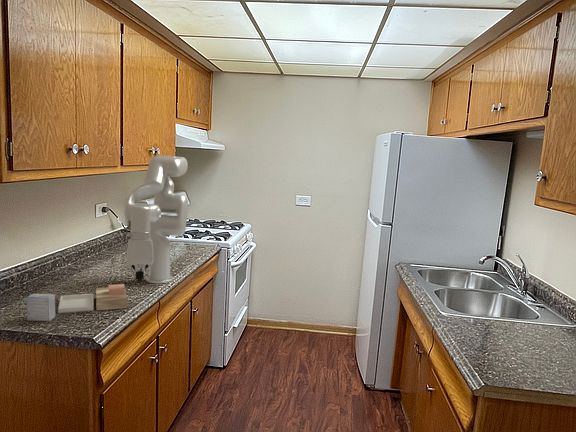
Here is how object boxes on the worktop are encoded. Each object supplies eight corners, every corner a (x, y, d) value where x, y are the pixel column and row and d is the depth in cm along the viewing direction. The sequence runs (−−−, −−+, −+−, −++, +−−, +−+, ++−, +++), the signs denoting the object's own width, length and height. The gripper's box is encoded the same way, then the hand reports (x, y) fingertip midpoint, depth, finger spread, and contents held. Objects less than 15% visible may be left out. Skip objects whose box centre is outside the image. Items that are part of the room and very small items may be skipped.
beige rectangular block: (96, 297, 183) (96, 288, 182) (124, 295, 187) (124, 286, 187) (96, 310, 168) (96, 300, 168) (127, 308, 173) (127, 298, 172)
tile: (108, 291, 179) (108, 285, 179) (124, 289, 182) (124, 284, 182) (108, 295, 174) (108, 289, 174) (124, 294, 176) (125, 288, 176)
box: (60, 300, 177) (60, 295, 177) (93, 297, 182) (93, 293, 182) (58, 313, 163) (58, 309, 163) (93, 310, 168) (93, 306, 168)
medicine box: (55, 317, 160) (55, 294, 159) (49, 321, 155) (49, 297, 154) (33, 316, 159) (33, 293, 158) (26, 320, 155) (26, 297, 154)
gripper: (121, 237, 172) (120, 284, 174) (160, 237, 178) (159, 281, 180) (120, 235, 179) (119, 279, 181) (158, 234, 185) (157, 277, 187)
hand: (139, 280), depth 180 cm, fingers closed
